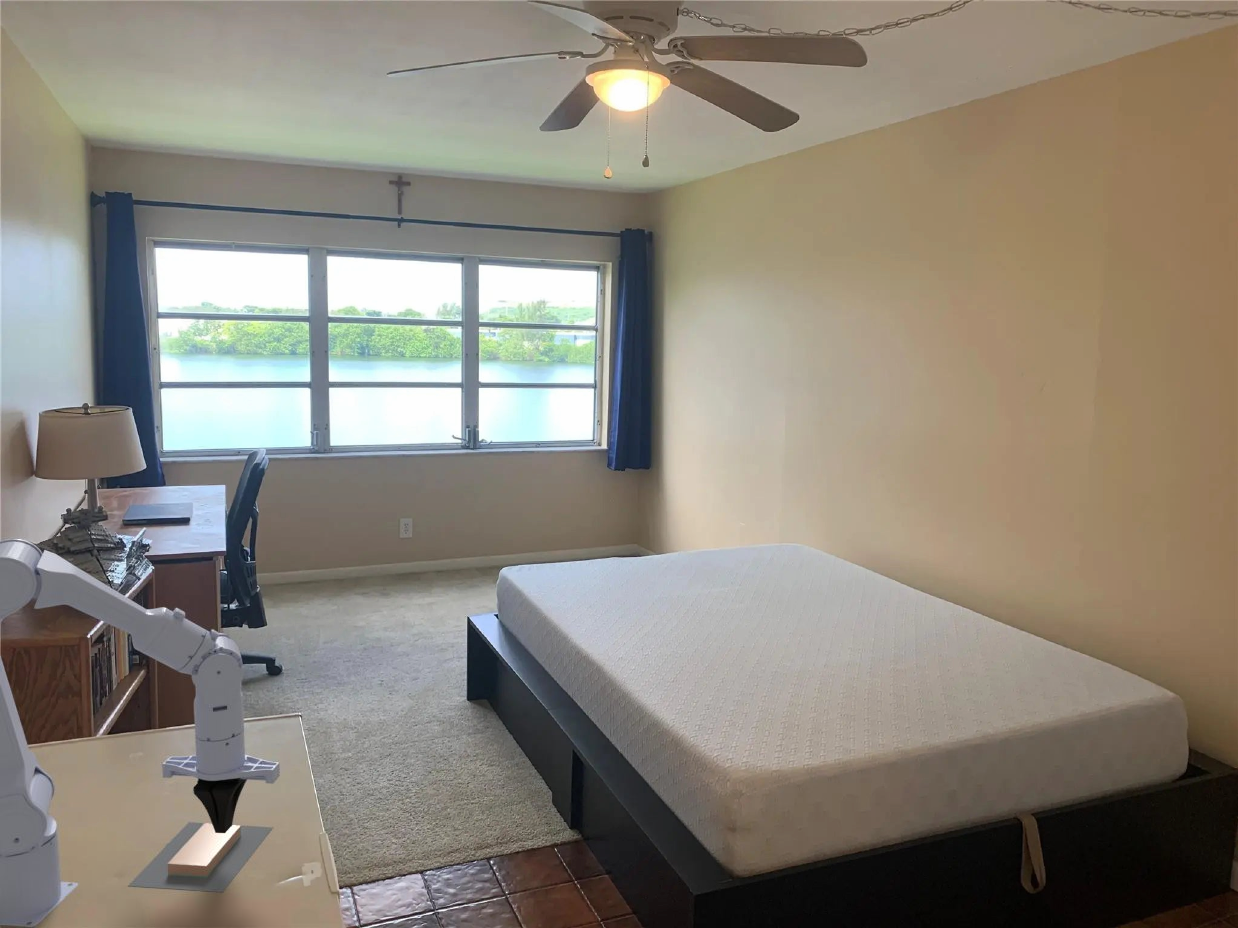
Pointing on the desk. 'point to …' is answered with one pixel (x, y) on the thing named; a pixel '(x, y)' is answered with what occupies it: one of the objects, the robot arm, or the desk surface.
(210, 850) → the tan wooden block
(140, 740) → the desk surface
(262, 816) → the desk surface
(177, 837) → the mat
